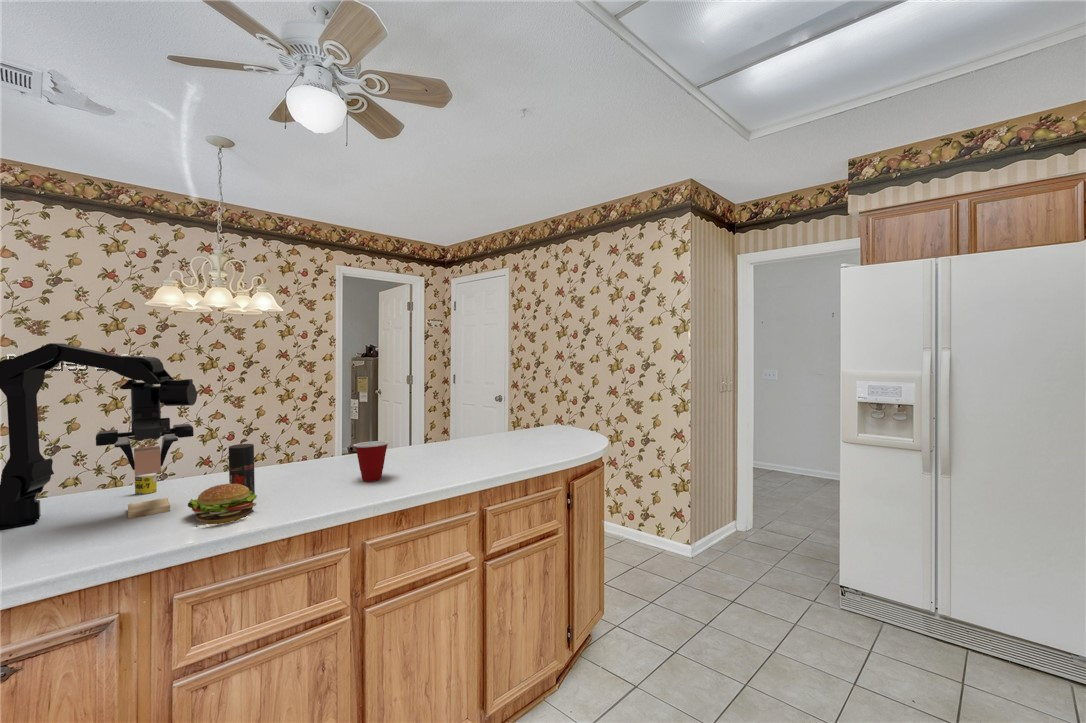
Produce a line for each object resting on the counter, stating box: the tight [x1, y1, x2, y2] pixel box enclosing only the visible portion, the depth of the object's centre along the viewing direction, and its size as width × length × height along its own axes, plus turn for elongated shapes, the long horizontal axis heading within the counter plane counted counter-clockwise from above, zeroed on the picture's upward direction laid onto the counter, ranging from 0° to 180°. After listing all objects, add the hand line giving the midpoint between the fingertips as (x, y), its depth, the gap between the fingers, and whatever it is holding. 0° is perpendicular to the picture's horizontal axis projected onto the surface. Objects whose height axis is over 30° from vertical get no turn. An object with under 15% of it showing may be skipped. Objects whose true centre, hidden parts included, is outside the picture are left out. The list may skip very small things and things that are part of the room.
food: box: [187, 483, 258, 525], centre depth 120 cm, size 14×14×8 cm
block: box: [133, 445, 162, 477], centre depth 121 cm, size 5×5×6 cm
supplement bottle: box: [134, 473, 158, 496], centre depth 136 cm, size 5×5×8 cm
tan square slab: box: [127, 497, 171, 520], centre depth 122 cm, size 8×8×2 cm
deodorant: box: [228, 443, 256, 495], centre depth 133 cm, size 6×6×15 cm
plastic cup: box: [353, 440, 390, 483], centre depth 153 cm, size 11×11×12 cm
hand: (147, 467), depth 121 cm, fingers closed on block, 5 cm apart
